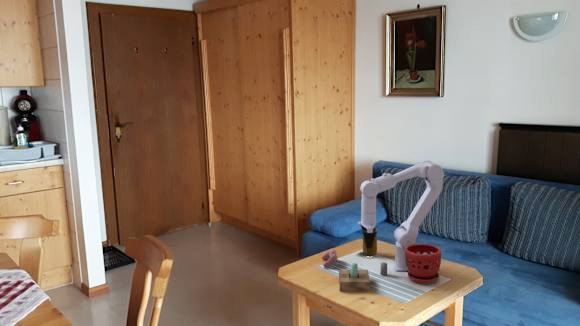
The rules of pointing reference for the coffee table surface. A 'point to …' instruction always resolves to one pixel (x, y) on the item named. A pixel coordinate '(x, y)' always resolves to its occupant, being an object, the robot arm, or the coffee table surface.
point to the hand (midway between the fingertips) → (368, 244)
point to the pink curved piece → (329, 258)
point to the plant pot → (423, 263)
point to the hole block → (354, 281)
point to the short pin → (383, 269)
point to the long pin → (354, 270)
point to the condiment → (369, 251)
